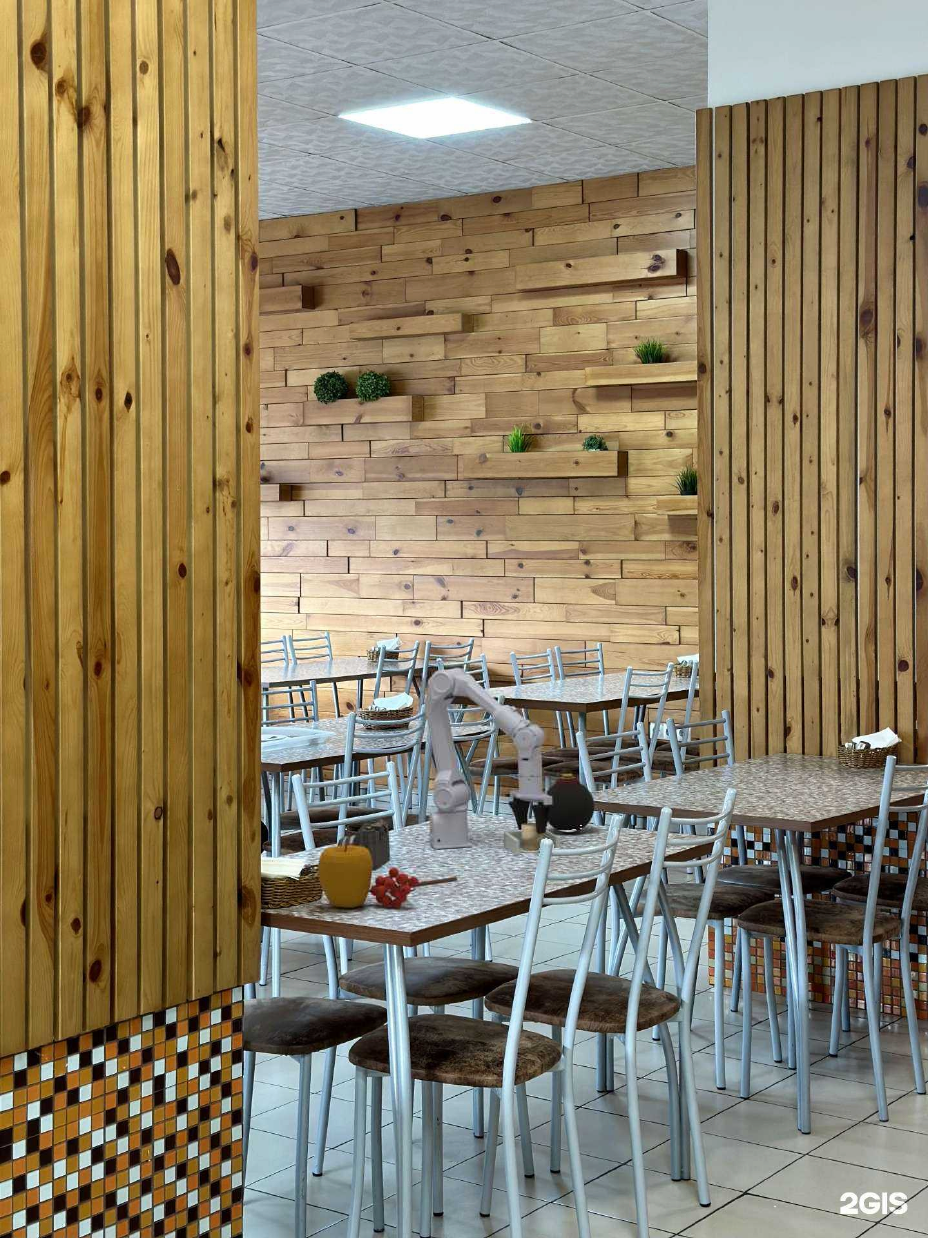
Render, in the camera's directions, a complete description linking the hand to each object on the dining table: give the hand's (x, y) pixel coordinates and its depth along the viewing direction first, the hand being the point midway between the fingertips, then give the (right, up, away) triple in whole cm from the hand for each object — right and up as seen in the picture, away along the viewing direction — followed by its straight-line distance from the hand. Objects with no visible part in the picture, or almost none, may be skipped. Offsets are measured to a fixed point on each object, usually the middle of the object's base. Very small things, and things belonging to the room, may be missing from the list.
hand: (531, 831), depth 352 cm
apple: (-40, -7, -57) cm, 70 cm away
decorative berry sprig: (-27, -7, -45) cm, 53 cm away
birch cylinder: (0, -4, 0) cm, 4 cm away
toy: (+11, -4, +24) cm, 26 cm away
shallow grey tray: (0, -5, +1) cm, 5 cm away
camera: (-40, -6, -12) cm, 42 cm away
